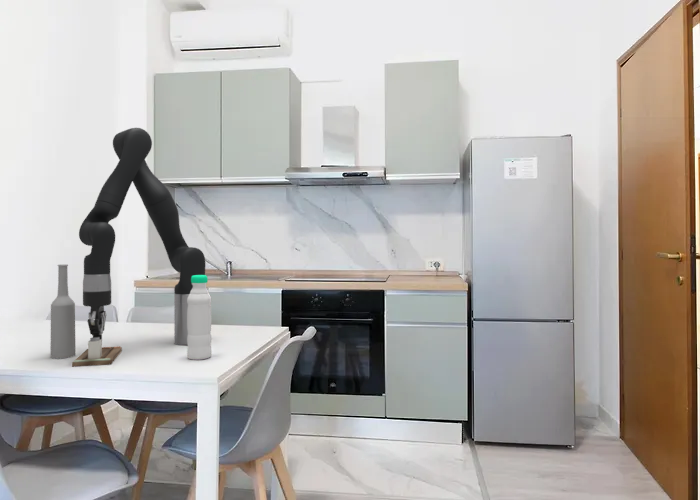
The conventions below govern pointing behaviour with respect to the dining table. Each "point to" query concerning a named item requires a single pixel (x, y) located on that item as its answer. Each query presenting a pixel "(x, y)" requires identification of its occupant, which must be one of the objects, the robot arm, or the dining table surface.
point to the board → (107, 358)
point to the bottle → (62, 319)
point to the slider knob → (95, 348)
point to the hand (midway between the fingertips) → (97, 347)
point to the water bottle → (199, 319)
